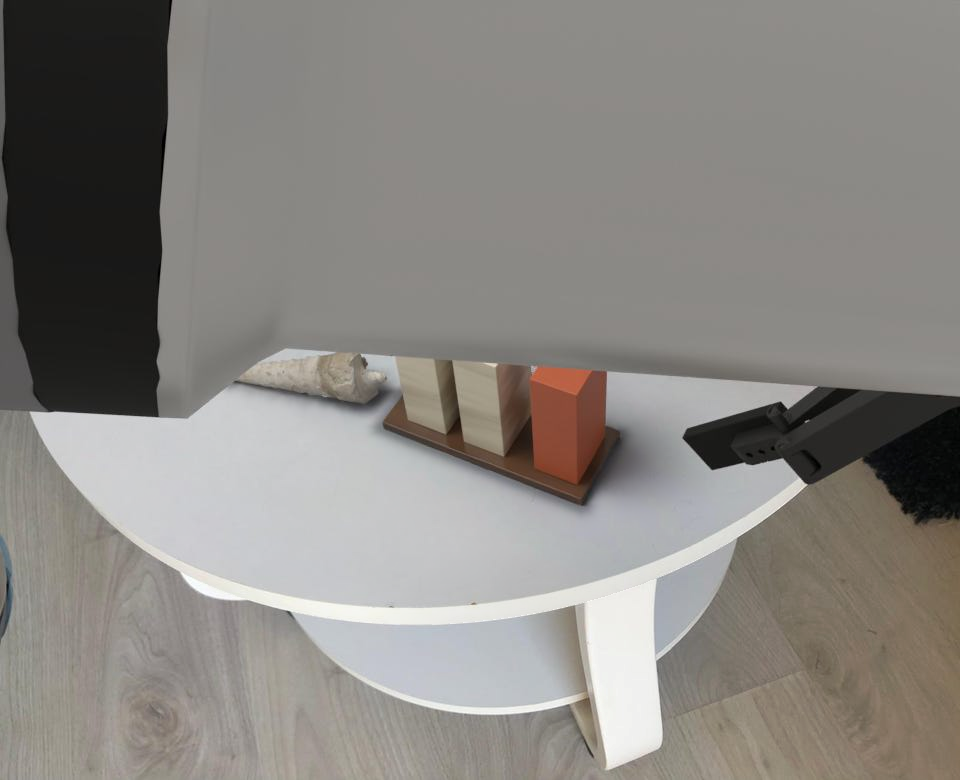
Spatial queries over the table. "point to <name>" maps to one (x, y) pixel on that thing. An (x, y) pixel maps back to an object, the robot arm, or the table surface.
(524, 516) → the table surface
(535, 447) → the slanted top orange prism
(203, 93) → the robot arm
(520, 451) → the front word board
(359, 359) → the seashell
